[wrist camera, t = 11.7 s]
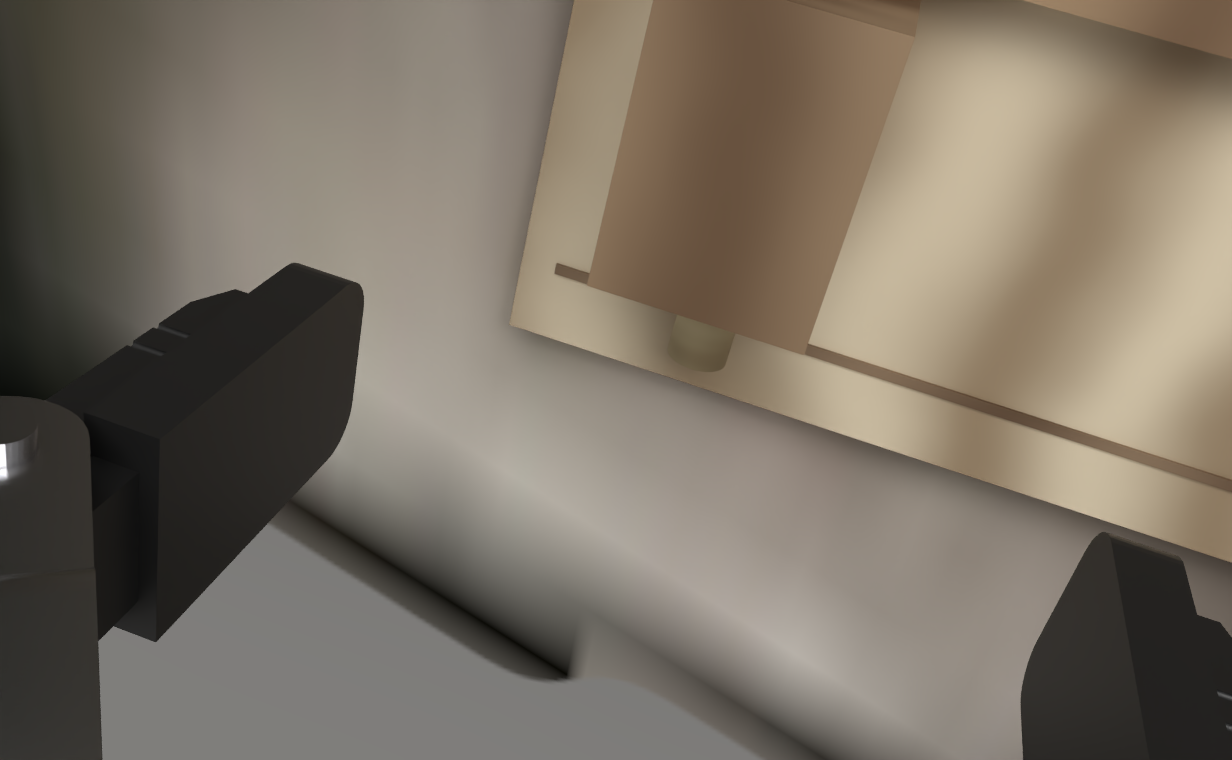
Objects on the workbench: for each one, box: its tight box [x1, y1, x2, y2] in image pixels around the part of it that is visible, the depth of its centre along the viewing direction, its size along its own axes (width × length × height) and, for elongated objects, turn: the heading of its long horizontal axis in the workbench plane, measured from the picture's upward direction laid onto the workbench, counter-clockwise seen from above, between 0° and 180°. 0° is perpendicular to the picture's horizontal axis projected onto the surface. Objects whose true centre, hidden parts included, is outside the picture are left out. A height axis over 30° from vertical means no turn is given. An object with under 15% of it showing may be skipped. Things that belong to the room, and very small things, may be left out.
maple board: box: [509, 0, 1232, 563], centre depth 29 cm, size 28×14×4 cm, turn 77°
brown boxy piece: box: [587, 0, 921, 372], centre depth 27 cm, size 5×10×6 cm, turn 167°
